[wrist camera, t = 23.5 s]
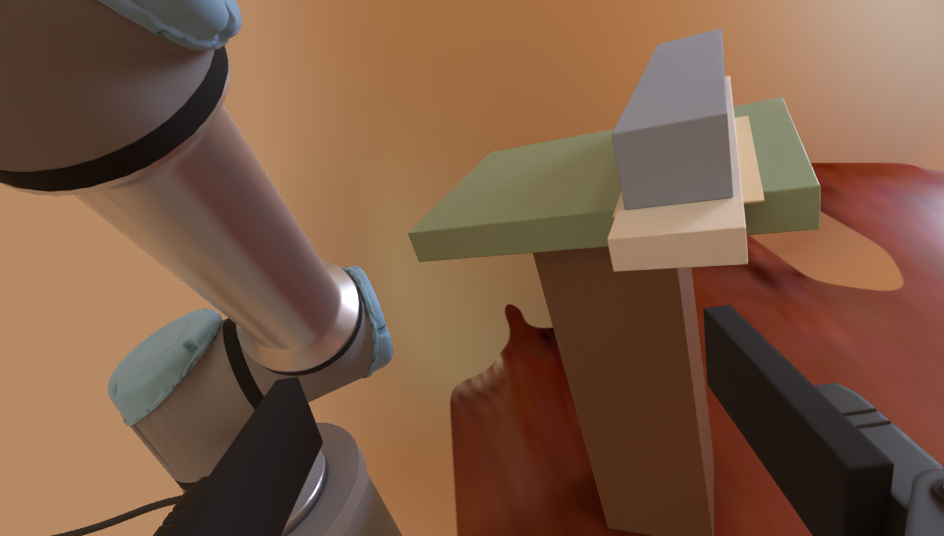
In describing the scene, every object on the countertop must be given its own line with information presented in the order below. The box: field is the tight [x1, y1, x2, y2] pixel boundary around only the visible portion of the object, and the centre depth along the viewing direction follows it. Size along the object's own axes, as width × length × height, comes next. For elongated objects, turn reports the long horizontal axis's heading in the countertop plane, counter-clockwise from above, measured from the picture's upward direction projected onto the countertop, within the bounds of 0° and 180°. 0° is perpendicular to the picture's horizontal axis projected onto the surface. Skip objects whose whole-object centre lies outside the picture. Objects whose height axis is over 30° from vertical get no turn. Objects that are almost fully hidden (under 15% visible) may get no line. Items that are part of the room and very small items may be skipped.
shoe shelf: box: [408, 97, 820, 536], centre depth 36 cm, size 15×20×30 cm
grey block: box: [607, 29, 748, 272], centre depth 25 cm, size 22×4×4 cm, turn 157°
